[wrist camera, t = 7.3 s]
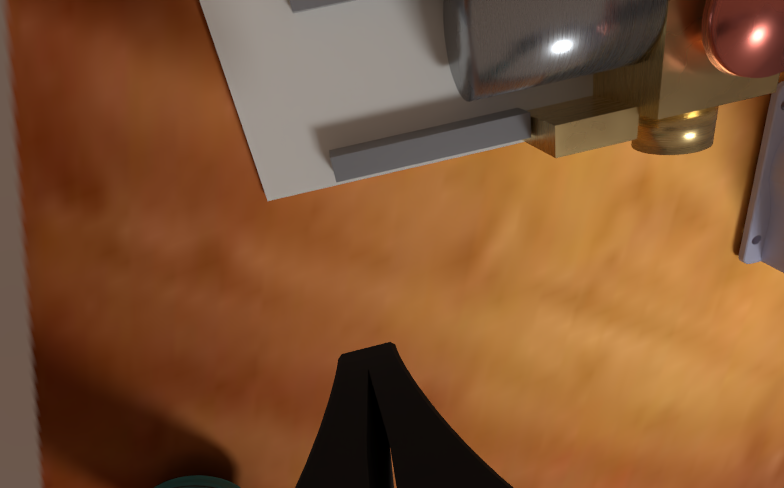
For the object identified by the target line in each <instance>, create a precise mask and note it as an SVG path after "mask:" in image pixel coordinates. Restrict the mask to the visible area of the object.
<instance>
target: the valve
mask: <svg viewBox="0 0 784 488" xmlns="http://www.w3.org/2000/svg"><path fill="white" fill-rule="evenodd" d="M783 71H784V0H668V3H667V10H666V15H665V20H664V23H663V27H662V30H661V32H660V35H659V37H658V39H657V41H656V43H655V45H654V46H653V48H652V49H651V51H650V52H649V53H648V54H647V55H646V56H645V57H644V58H643V59H642V60H641V61H639V62H638V63H636V64H633V65H629V66H625V67H621V68H616V69H612V70H607V71H603V72H598V73H594V74H593V96H588V97H584V98H579V99H575V100H571V101H566V102H562V103H557V104H553V105H549V106H544V107H540V108H535V109H531V110H527V111H528V112H530V117H531V138H527V139H523V141H524V142H526V143H528V144H530V145H532V146H534V147H536V148H538V149H539V150H541V151H543V152H545V153H547V154H549V155H551V156H553V157H554V158H558V157H562V156H567V155H571V154H575V153H579V152H584V151H588V150H592V149H596V148H601V147H605V146H609V145H613V144H618V143H622V142H626V141H631V140H632V143H631V146H632V148H633V149H635V150H637V151H640V152H643V153H648V154H656V155H679V154H688V153H694V152H698V151H702V150H705V149H707V148H709V147H711V146H712V144H713V139H714V133H715V126H716V120H717V113H718V106H719V105H723V104H728V103H732V102H736V101H740V100H745V99H749V98H753V97H758V96H762V95H766V94H771V93H775V92H776V90H777V85H778V80H779V75H780V73H781V72H783Z"/></svg>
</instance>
